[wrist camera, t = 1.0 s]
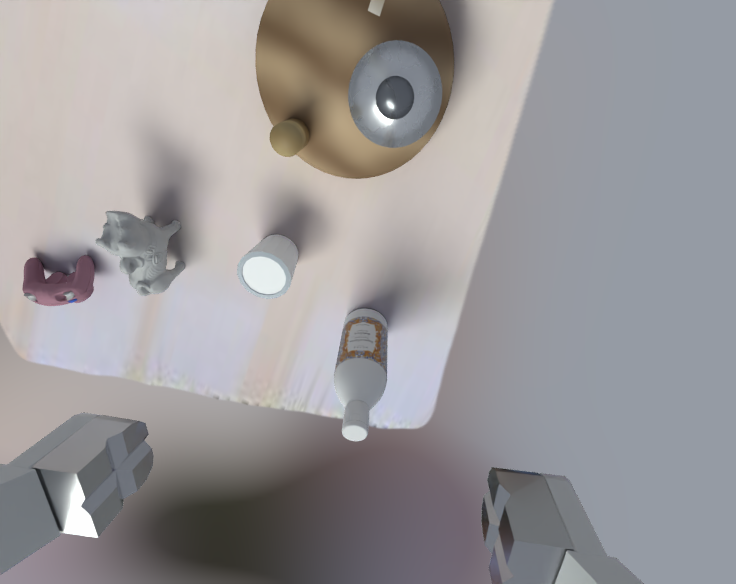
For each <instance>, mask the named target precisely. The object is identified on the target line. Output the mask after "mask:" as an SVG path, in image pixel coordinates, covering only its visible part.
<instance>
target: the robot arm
mask: <svg viewBox="0 0 736 584" xmlns="http://www.w3.org/2000/svg"><path fill="white" fill-rule="evenodd" d="M147 436H148V430H147V427H146V424H145V423H143V422H140V421H136V420H130V419H124V418H118V417H112V416H106V415H97V414H91V413H80V414H77V415H74V416H73V417H71V418H70V419H69V420H67V421H66V422H65V423H63V424H62V425H60V426H59V427H58V428H56V429H55V430H54V431H52V432H51V433H50V434H48V435H47V436H46V437H44V438H43V439H41V440H40V441H39V442H37V443H36V444H35V445H34V446H32V447H31V448H29V449H28V450H26V451H25V452H24V453H22V454H21V455H20V456H18V457H17V458H16V459H14V460H13V461H12V462H10V463H9V464H7V465H5V464H0V575H1V574H3V573H4V572H6V571H7V570H9V569H10V568H12V567H13V566H15V565H16V564H18V563H19V562H21V561H22V560H24V559H25V558H27V557H28V556H30V555H31V554H33V553H34V552H36V551H37V550H39V549H40V548H42V547H43V546H45V545H46V544H48V543H49V542H51V541H52V540H54V539H55V538H57V537H58V536H60V533H68V534H75V535H82V536H90V537H97V538H98V537H99V536H100V534H101V533H102V532H103V531H104V530H105V528H106V527H107V526H108V525H109V524H110V523H111V521H112V520H113V519H114V518H115V517H116V516H117V514H118V513H119V512H120V511H121V510H122V508H123V500H124V498H126V497H127V496H129V495H131V494H133V493H135V492H136V491H138V489H139V488H140V487H141V486H142V485H143V483H144V482H145V480H147V477H148V475H149V473H150V471H151V469H152V466H153V452H152V448H151V447H150V446H149V445H148V444H147V443H146V442H145V441H144V440H145V439H146V437H147ZM487 481H488V486H489V490H490V491H489V492H488V493H486V494H485V495H484V498H483V503H482V517H481V518H482V519H481V522H482V532H483V538H484V544H485V546H486V547H487V548H488V549H489V551H490V552H491V553H492V557H491V561H490V565H489V571H490V576H491V581H492V584H644V583H643V582H642V581H641V580H639V579H638V578H637V577H636V576H635V575H634V574H633V573H632V572H631V571H630V570H629V569H628V568H626V567H625V566H624V565H623V564H622V563H621V562H620V561H619V560H618V559H617V558H614V557H609V556H607V554H606V553H605V551H604V549H603V547H602V545H601V542H600V541H599V538H598V536H597V535H596V532H595V531H594V528H593V526H592V524H591V522H590V520H589V518H588V516H587V514H586V512H585V510H584V508H583V506H582V504H581V502H580V500H579V498H578V496H577V494H576V493H575V490H574V488H573V486H572V484H571V482H570V480H569V479H568V478H566V477H565V476H560V475H552V474H543V473H540V474H539V473H535V472H527V471H519V470H511V469H510V470H509V469H503V468H494V467H492V468H491V470H490V471H489V475H488V479H487Z"/></svg>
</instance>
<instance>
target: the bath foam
mask: <svg viewBox="0 0 736 584" xmlns="http://www.w3.org/2000/svg"><path fill="white" fill-rule="evenodd" d="M386 382H387V322H386V320H385V318H384V317H383V316H382V315H381V314H380V313H379V312H377V311H375V310H372V309H358V310H355V311H353V312H351V313H350V314H349V315H348V316H347V318H346V319H345V322H344V326H343V331H342V336H341V342H340V347H339V352H338V357H337V363H336V368H335V373H334V386H335V391H336V394H337V396H338V398H339V400H340V401H341V403H342V404H343V406H344V407H345V412H344V419H343V426H342V433H343V436H344V437H345V438H346V439H348V440H351V441H360V440H363V439H364V438H366V436H367V434H368V425H369V410H371V409H372V408H373V407H374V406H375V405H376V404H377V402H378V401H379V400H380V398H381V397H382V395H383V393H384V390H385V387H386Z"/></svg>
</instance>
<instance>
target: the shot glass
mask: <svg viewBox="0 0 736 584" xmlns="http://www.w3.org/2000/svg"><path fill="white" fill-rule="evenodd" d="M297 261H298V250H297V247H296V246H295V244H294V243H293V242H292V240H290V239H288V238H287V237H285V236H282V235H278V234H275V235H269V236H268V237H266V238H264V239H263V240H262V241H261V242H260V243H258V244H257V245H256V246H255V247H254V248H253V249H251V250H250V251H249V252H248V253H247V254H246V255H245V256H243V257H242V259H241V260H240V262H239V264H238V269H237V275H238V277H239V280H240V282H241V284H242V285H243V286H244V287H245V289H246V290H247V291H248V292H250V293H252V294H254V295H255V296H257V297H261V298H266V299H271V298H278V297H279V296H281V295H283V294H285V293H286V291H287V290H288V288H289V287H290V284H291V281H292V278H293V274H294V271H295V268H296V264H297Z"/></svg>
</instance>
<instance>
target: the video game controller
mask: <svg viewBox="0 0 736 584" xmlns="http://www.w3.org/2000/svg"><path fill="white" fill-rule="evenodd" d="M94 274H95V273H94V264H93V261H92V259H91V258H90V257H89V256H86V255H84V256H82V257H80V258H79V260H78V262H77V266H76V272H73V273H71V274H70V275H69V276H68V277H67V276H66V275H65V274H63V273H62V272H56V273H53V274H52V275H51V276H50V277H49V278H47V279H45V275H44V269H43V266H42V263H41V262H40V260H39V259H37V258H30V259H29V260H27V262H26V263H25V266H24V282H23V292H24V293H25V294H24V296H27V298H28V299H29V300H31V301H33V302H35V303H38V304H41V305H46V306H58V305H64V304H68V303H72V302H75V303H79V302H82V301H84V300H86V299H88V298H89V297H90V296H91V294H92V292H93V290H94V287H93V281H94Z"/></svg>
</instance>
